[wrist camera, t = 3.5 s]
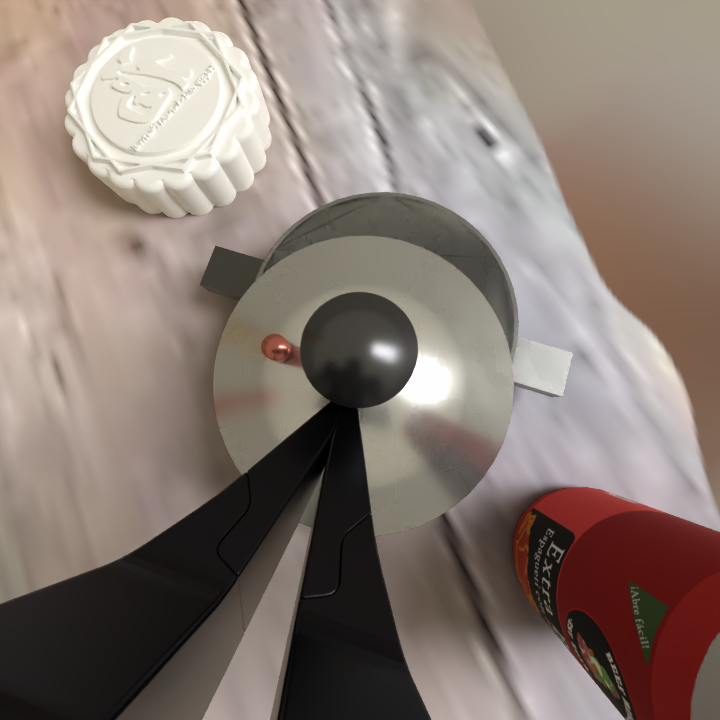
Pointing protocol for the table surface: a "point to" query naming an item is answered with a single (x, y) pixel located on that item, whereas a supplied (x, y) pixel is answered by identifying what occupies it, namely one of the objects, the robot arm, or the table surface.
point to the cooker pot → (419, 227)
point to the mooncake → (169, 117)
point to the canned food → (628, 598)
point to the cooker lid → (371, 370)
